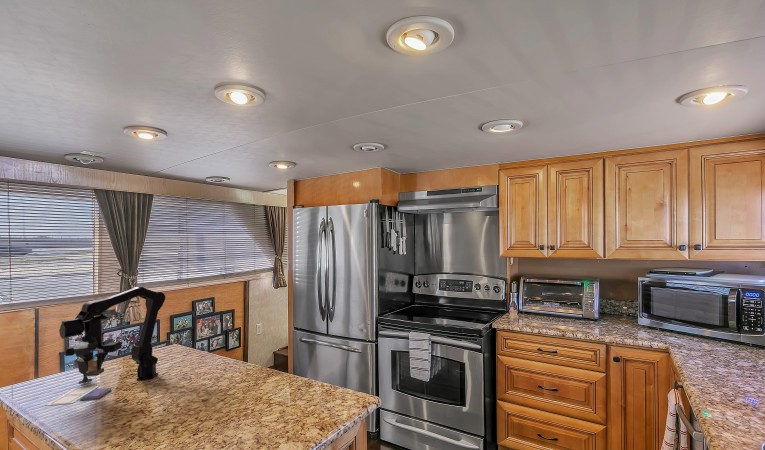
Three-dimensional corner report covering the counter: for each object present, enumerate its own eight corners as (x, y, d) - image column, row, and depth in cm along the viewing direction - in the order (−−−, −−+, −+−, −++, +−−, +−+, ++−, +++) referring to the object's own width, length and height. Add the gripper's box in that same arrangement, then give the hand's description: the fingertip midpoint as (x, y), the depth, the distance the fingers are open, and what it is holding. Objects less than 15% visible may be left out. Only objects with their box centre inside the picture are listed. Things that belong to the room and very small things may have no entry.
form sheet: (99, 386, 160) (99, 385, 160) (72, 403, 144) (72, 402, 144) (75, 388, 159) (75, 387, 159) (45, 405, 143) (45, 405, 143)
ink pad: (111, 390, 155) (111, 387, 155) (98, 398, 147) (98, 395, 147) (93, 391, 155) (93, 389, 155) (80, 400, 147) (80, 397, 147)
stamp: (104, 371, 153) (103, 357, 153) (97, 375, 149) (96, 361, 149) (92, 372, 153) (92, 358, 153) (85, 376, 149) (84, 361, 149)
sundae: (84, 384, 163) (82, 351, 163) (72, 384, 165) (70, 351, 165) (98, 378, 170) (97, 346, 170) (86, 378, 171) (85, 346, 171)
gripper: (53, 339, 142) (55, 379, 142) (104, 335, 144) (106, 374, 144) (74, 331, 153) (76, 368, 153) (121, 328, 155) (123, 364, 155)
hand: (94, 369), depth 151 cm, fingers closed on stamp, 3 cm apart
